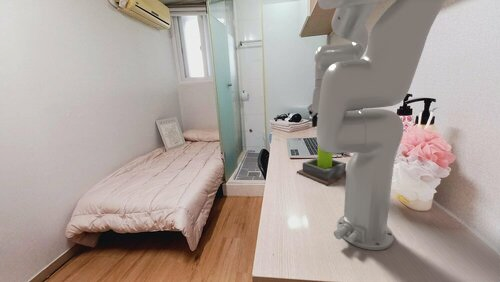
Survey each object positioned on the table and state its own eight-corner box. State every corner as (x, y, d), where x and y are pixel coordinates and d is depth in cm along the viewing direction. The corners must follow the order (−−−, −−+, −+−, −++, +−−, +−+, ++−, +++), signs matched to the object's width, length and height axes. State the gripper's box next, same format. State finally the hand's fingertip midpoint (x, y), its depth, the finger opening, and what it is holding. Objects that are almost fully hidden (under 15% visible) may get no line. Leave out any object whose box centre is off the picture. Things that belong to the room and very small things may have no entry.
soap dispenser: (313, 173, 88) (314, 127, 83) (321, 168, 93) (322, 124, 88) (327, 176, 84) (328, 128, 79) (334, 171, 89) (335, 125, 84)
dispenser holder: (327, 185, 78) (327, 174, 77) (296, 173, 92) (296, 162, 90) (352, 174, 86) (352, 163, 85) (320, 164, 100) (320, 154, 99)
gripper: (352, 81, 74) (350, 128, 78) (314, 85, 89) (314, 124, 93) (339, 82, 71) (337, 131, 74) (301, 86, 85) (302, 127, 89)
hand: (324, 127), depth 83 cm, fingers open, 9 cm apart
